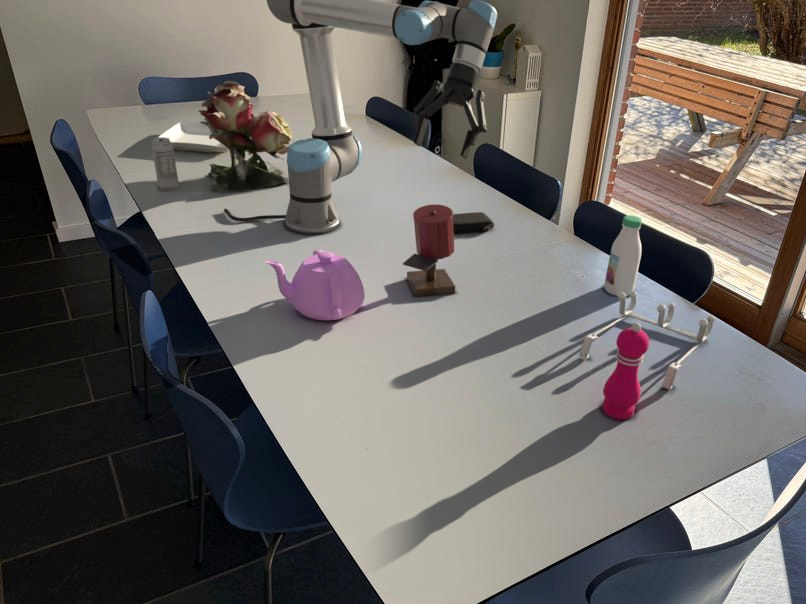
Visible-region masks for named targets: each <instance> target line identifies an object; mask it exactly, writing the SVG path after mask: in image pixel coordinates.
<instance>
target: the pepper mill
mask: <svg viewBox="0 0 806 604" xmlns="http://www.w3.org/2000/svg"><path fill="white" fill-rule="evenodd" d="M615 343H616V347H617V350H616V355H615V356H616V357H615V358H616V360H617V362H616V366H615V369H614V370H613V372H612V373H611V374H610V376H609V377H608V378H607V380H606V381H605V384H604V386H603V389H602V394H603V397H604V399H603V401H602V411H603V413H604V414H605V415H606V416H608V417H610V418H611V419H614V420H628V419H631V418H632V417H633V416H634V415H635V414H634V413H635V409H636V404H638V403H639V401H640V399H641V394H642V391H641V390H642V389H641V385H640V382H639V377H638V372H639V367H640V365H641V364H643V361H644V356H645V355H644V354H646V353H647V352H648V349H649V347H650V339H649V336H648V334H647V332H645V331H644V330H643V329H642V325H641V324H640V323H639V322H634V323H632V325H631V327H627V328H625V329H622V330H621V331H620V332H619V333H618V335H617V337H616V342H615Z"/></svg>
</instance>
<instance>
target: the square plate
mask: <svg viewBox="0 0 806 604" xmlns="http://www.w3.org/2000/svg"><path fill="white" fill-rule="evenodd" d="M211 134H212V133H211V131H210V129H209V127H208V126H204V125H202V124H201V123H200V122H188V121H187V122H185V121H179V122H178V123H176V124H174V125H173V126H171V127H170V128H169V129H167V130H166V131H164V132H163V133H161V134H160V135H159V136H157V137H156V138H158V137H165V138H169V139H170V142H171V143H172V145H173V150H177V151H190V152H203V153H217V154H218V153H227V152H230V151H229V149H228V148H227V147H225V146H224V145H223V144H221V143H220V142H219V141H217V140H215V139H214V138H212V139H209V136H210V135H211Z"/></svg>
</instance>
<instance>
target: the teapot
mask: <svg viewBox="0 0 806 604" xmlns="http://www.w3.org/2000/svg"><path fill="white" fill-rule="evenodd" d="M265 263H266V264H268V265H269V266H270V267H272V268H273V269H274V271H275V275H276V278H277V286H278V289H279V292H280V295H282V297H284V298H285V300H288V301H290V303H291V305H292V307H293V308H294V309H295V310H296V311H298V312H299V313H300V314H301V315H303V316H304V317H307V318H309V319H311V320H317V321H334V320H335V321H336V320H340V319H344V318H347V317H349V316H352V315H353V314H354V313H356V311H358V310H359V308H360V307H362V305H363V303H364V301H365V298H366V295H365V288H364V285H363V282H362V279H361V277H360V275H359V273H358V272H357V270H356V269H355V267H354V266H353V265H352V264H351V262H350V261H349V260H348V259H347V258H346V257H345V256H343V255H339V254H336V253H332V252H331V251H324V250H321V249H315V250H314V251H312V255H310V256H308V257H306V258H305V259H304V260H303V261H302V262H301V264H300V265H299V267H298V268H297V270H296V272H295V273H294V275H293V277H292V280H291V282H290V281H288V279H287V276H286V272H285V268H284V267H283V265H282V264H281V263H280V262H278V261H274V260H269V259H267V260H265Z"/></svg>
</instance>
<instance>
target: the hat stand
mask: <svg viewBox="0 0 806 604" xmlns="http://www.w3.org/2000/svg"><path fill="white" fill-rule="evenodd" d="M406 280H407V282H408V284H409V286H410V288H411V290H412V292H413V294H414V295H415V297H427V296H428V297H429V296H438V295H450V294H455V292H456V285H455V284H454V282H453V280H452V279H451V277H450V276H449V274H448V272H447V270H446V269H445V268H439V269H438V268H437V263H436V264H434V265H433V266H432V267H431V268H430V269H429V270H428V271H423V270H411V271H410V270H409V271H406Z"/></svg>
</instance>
